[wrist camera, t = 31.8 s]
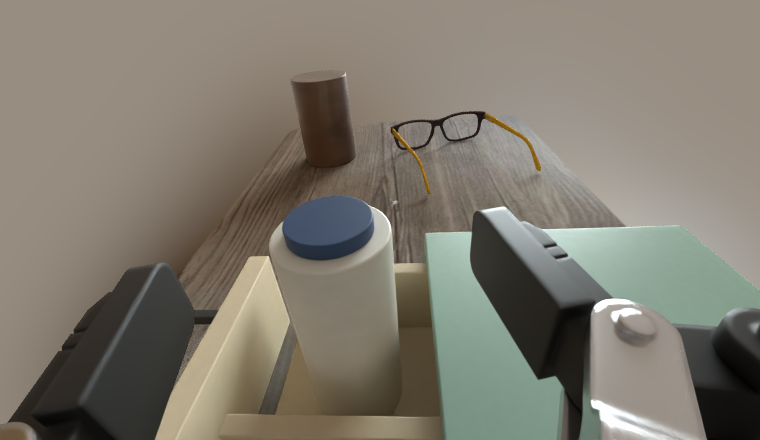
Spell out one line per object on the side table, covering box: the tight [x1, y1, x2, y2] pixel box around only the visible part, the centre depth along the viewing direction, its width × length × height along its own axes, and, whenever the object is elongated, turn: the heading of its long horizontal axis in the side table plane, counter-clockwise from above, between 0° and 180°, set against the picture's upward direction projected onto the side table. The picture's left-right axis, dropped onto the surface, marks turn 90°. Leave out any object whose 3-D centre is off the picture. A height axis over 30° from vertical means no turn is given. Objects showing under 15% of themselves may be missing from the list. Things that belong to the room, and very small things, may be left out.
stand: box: [291, 70, 356, 167], centre depth 46 cm, size 7×7×11 cm
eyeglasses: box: [391, 111, 541, 194], centre depth 44 cm, size 14×14×4 cm
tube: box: [269, 196, 402, 416], centre depth 15 cm, size 4×4×11 cm
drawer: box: [155, 256, 443, 440], centre depth 17 cm, size 17×10×6 cm, turn 87°
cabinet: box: [425, 226, 760, 440], centre depth 16 cm, size 14×12×8 cm
